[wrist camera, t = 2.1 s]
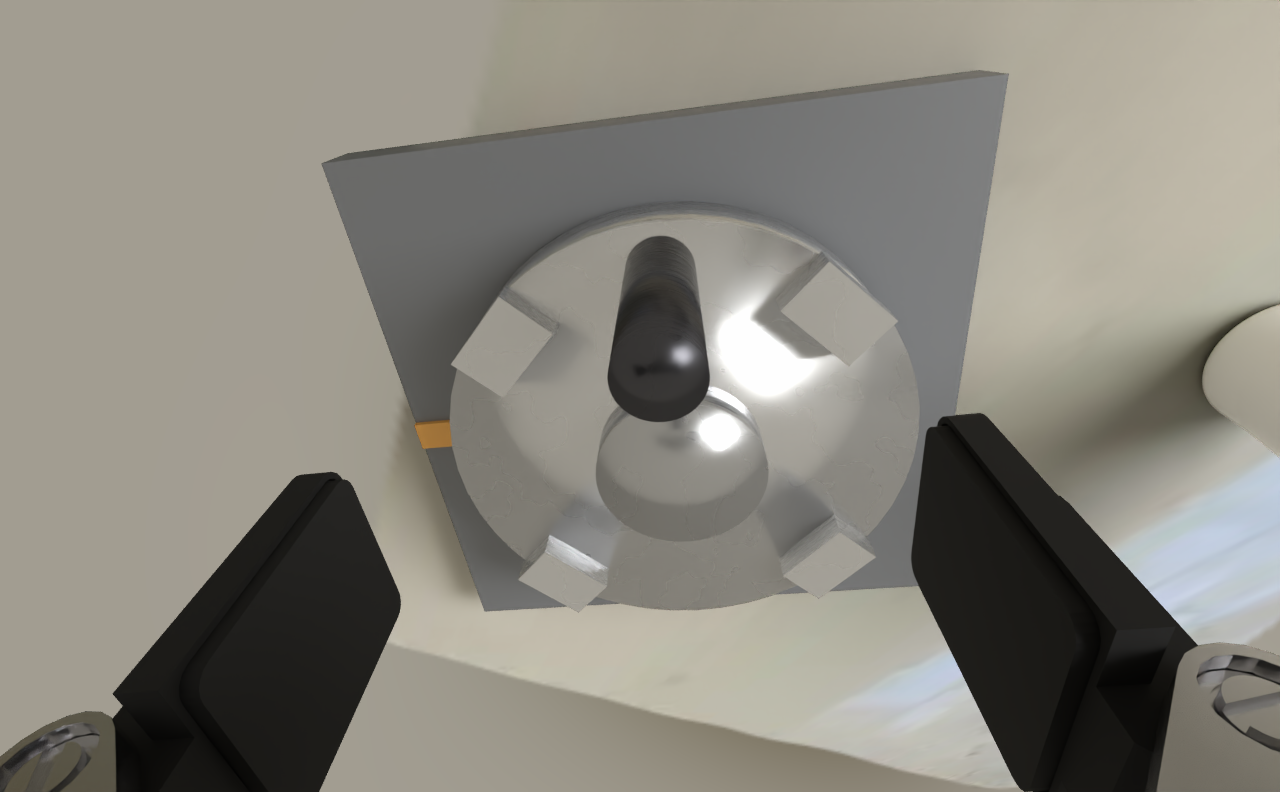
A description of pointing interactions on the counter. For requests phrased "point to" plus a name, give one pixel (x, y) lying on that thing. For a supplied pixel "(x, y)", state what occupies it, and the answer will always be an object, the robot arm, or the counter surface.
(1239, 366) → the drinking glass
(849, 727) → the counter surface
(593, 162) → the gray square base plate
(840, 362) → the round metal lid
